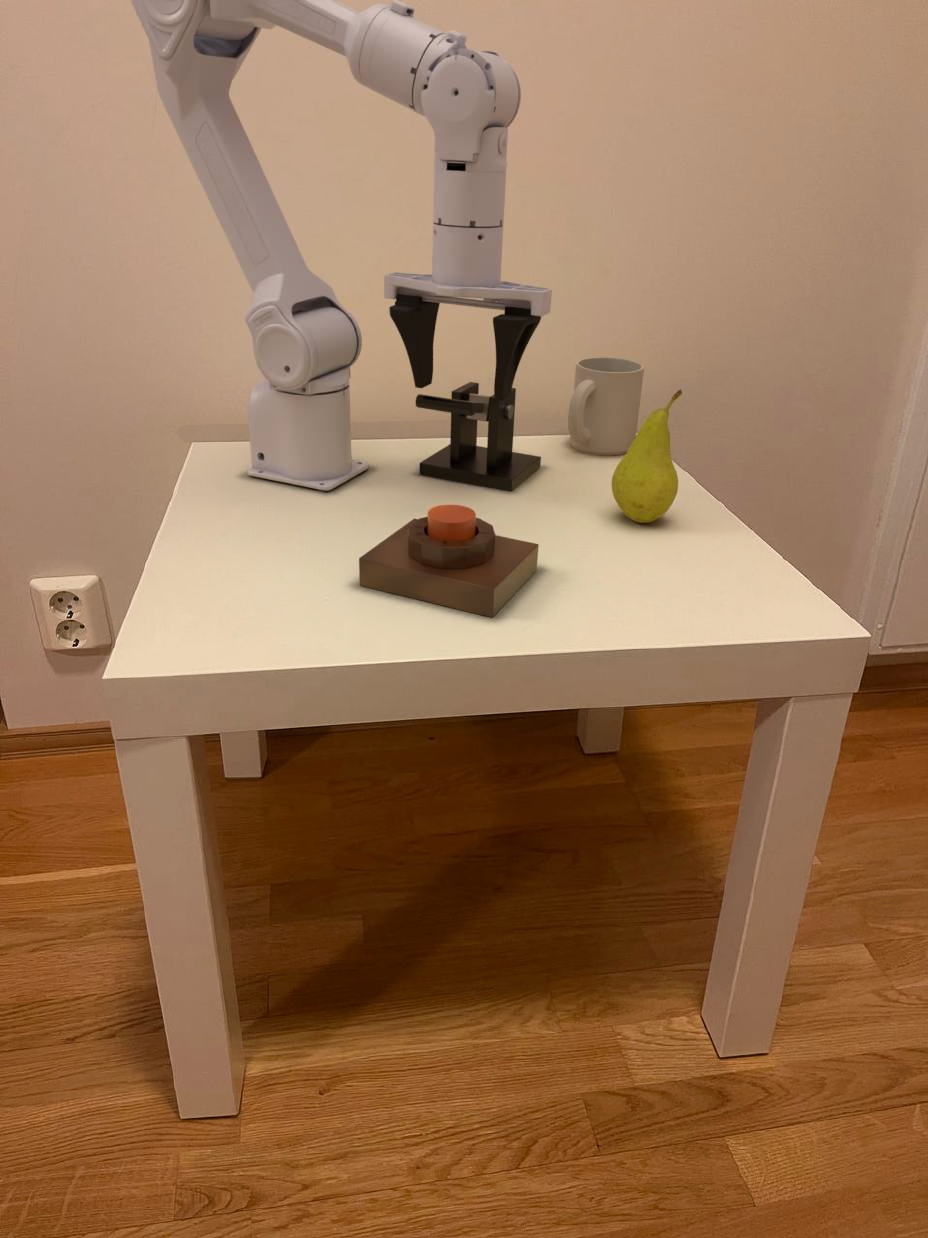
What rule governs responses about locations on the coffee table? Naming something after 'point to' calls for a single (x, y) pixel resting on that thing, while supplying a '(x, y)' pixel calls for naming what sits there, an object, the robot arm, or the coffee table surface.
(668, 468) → the fruit
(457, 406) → the switch lever
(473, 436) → the switch bracket
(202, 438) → the coffee table surface
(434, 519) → the button
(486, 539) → the button block
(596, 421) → the cup
